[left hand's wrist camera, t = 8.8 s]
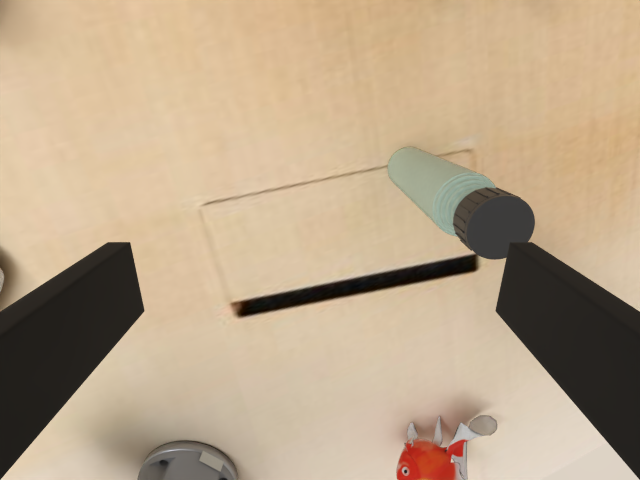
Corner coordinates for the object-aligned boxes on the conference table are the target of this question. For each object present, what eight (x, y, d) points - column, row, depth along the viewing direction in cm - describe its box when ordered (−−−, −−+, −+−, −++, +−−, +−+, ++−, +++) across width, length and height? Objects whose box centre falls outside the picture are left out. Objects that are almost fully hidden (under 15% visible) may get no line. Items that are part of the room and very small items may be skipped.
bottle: (398, 194, 41) (474, 275, 21) (380, 160, 39) (444, 212, 20) (433, 174, 40) (548, 239, 20) (417, 139, 39) (522, 171, 19)
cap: (466, 257, 22) (480, 271, 20) (441, 206, 21) (454, 217, 19) (523, 228, 22) (544, 240, 20) (502, 174, 21) (522, 181, 19)
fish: (385, 420, 47) (435, 501, 40) (471, 372, 52) (528, 436, 45) (375, 452, 54) (417, 526, 47) (453, 406, 59) (500, 466, 52)
